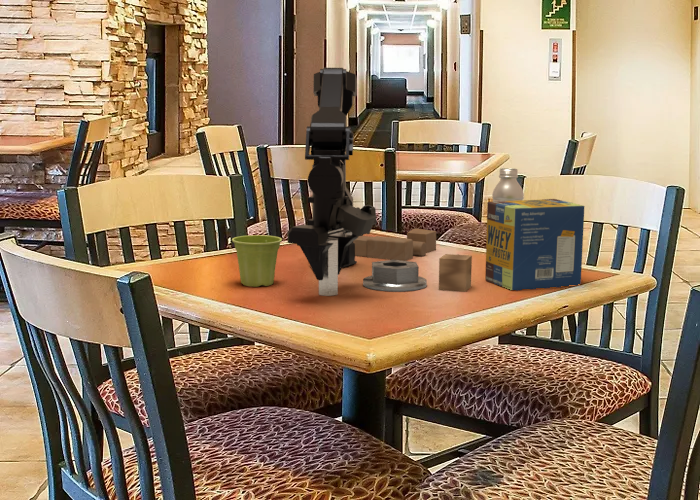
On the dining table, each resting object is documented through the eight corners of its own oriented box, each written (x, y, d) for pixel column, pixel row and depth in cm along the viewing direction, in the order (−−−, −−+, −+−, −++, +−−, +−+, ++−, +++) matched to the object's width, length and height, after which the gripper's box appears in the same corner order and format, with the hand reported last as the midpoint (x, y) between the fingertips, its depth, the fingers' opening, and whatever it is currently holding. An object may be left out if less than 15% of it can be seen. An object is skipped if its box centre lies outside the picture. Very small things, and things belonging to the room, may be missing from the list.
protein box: (483, 281, 192) (486, 201, 190) (552, 276, 198) (555, 198, 195) (511, 291, 183) (514, 207, 180) (582, 285, 188) (586, 204, 186)
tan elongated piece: (314, 294, 179) (314, 239, 177) (323, 290, 182) (323, 236, 180) (333, 296, 177) (333, 241, 176) (342, 293, 180) (342, 238, 179)
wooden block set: (408, 237, 212) (335, 231, 220) (407, 263, 213) (335, 256, 221) (440, 227, 226) (371, 222, 235) (440, 252, 227) (370, 245, 236)
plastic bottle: (486, 260, 214) (489, 167, 211) (517, 260, 215) (520, 167, 212) (493, 265, 208) (496, 170, 205) (525, 265, 209) (528, 170, 205)
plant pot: (290, 281, 191) (289, 236, 190) (270, 290, 182) (269, 243, 181) (245, 277, 194) (245, 234, 193) (224, 287, 185) (223, 241, 184)
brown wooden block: (438, 290, 183) (439, 258, 182) (444, 285, 188) (445, 254, 187) (465, 292, 182) (466, 260, 181) (471, 287, 187) (471, 255, 186)
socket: (364, 291, 182) (364, 270, 181) (361, 278, 193) (362, 258, 193) (429, 291, 182) (430, 270, 181) (423, 278, 194) (423, 258, 193)
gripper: (342, 198, 165) (342, 291, 167) (392, 188, 181) (391, 273, 183) (285, 195, 170) (286, 284, 173) (339, 185, 186) (338, 267, 189)
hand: (328, 277), depth 179 cm, fingers open, 6 cm apart
